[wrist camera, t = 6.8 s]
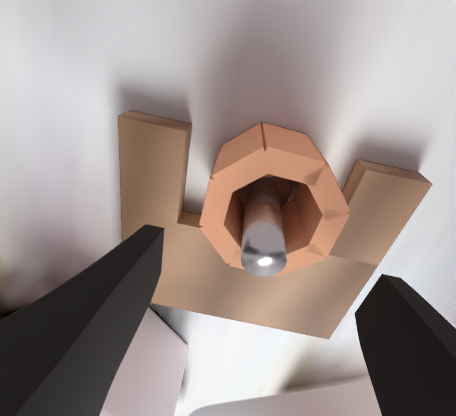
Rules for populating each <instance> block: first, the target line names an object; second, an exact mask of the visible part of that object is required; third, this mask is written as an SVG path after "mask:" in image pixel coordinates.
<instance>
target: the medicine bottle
mask: <svg viewBox="0 0 456 416" xmlns="http://www.w3.org/2000/svg"><path fill="white" fill-rule="evenodd" d="M188 351H189V347H188V346H187V344H186V343H185V342H184V341H183V340H182V339H181V338H180V337H179V336H178V335H177V334H176V333H175V332H174V331H173V330H172V329H171V328H170V327H169V326H168V325H167V324H166V323H165V322H164V321H163V320H162V319H161V318H160V317H159V316H158V315H157V314H156V313H155V312H154V311H153V310H152V309H151V308H150V307H148V309H147V311H146V313H145V315H144V317H143V319H142V321H141V323H140V325H139V327H138V329H137V332H136V334H135V336H134V338H133V340H132V342H131V344H130V346H129V348H128V350H127V352H126V354H125V356H124V358H123V360H122V362H121V364H120V366H119V369H118V371H117V373H116V375H115V378H114V380H113V382H112V384H111V387H110V389H109V392H108V395H107V397H106V400H105V402H104V405H103V407H102V410H101V413H100V415H99V416H174V413H175V409H176V404H177V400H178V395H179V391H180V387H181V382H182V378H183V373H184V369H185V365H186V360H187V356H188Z"/></svg>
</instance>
